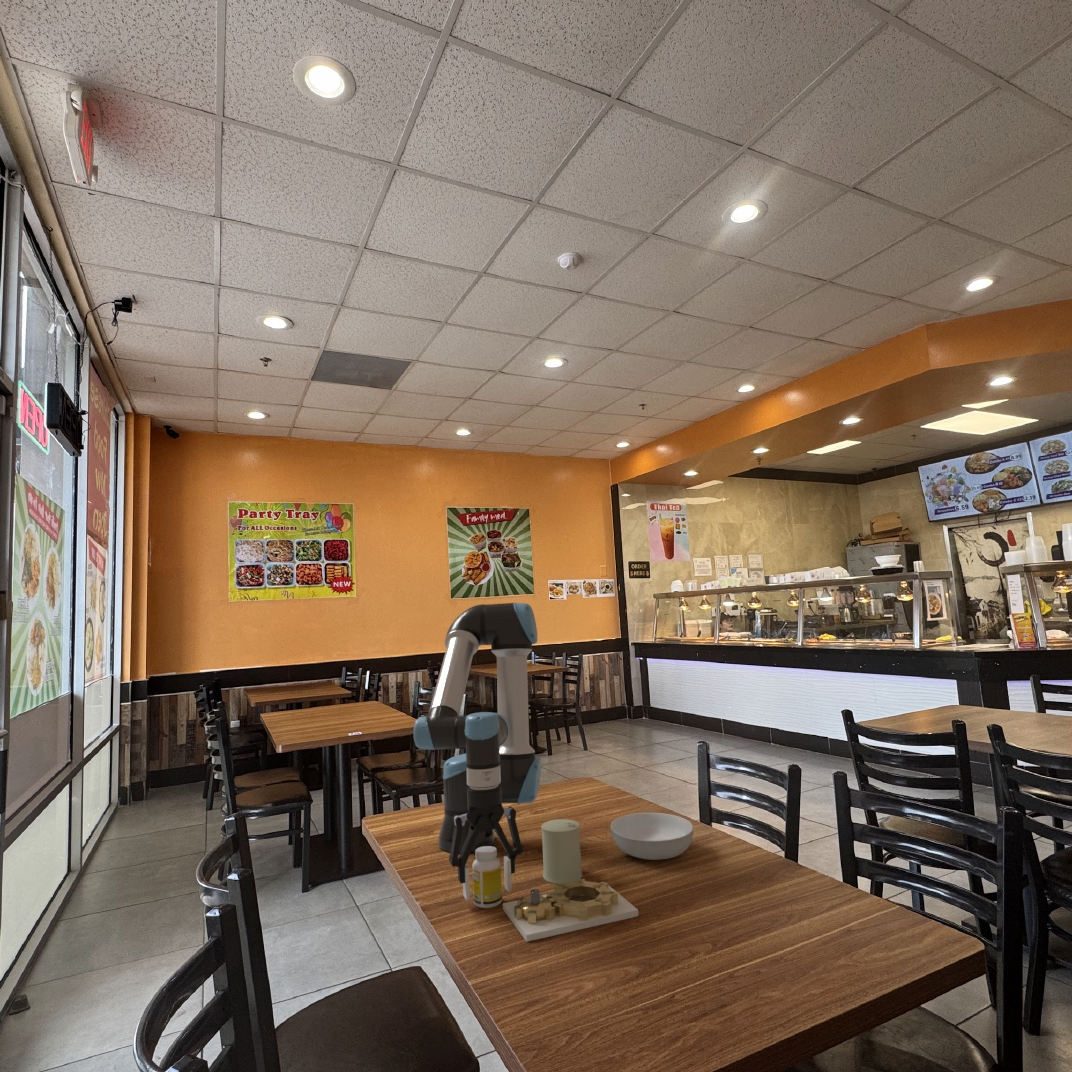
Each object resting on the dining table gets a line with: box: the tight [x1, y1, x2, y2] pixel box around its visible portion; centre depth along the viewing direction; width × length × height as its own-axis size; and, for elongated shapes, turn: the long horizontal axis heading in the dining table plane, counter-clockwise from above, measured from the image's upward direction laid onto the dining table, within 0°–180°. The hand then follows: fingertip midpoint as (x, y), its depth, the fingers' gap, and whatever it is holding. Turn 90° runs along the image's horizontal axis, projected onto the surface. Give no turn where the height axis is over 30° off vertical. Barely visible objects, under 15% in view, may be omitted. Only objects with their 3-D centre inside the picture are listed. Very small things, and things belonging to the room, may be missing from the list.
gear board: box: [502, 884, 639, 942], centre depth 137 cm, size 15×24×1 cm, turn 110°
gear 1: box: [514, 888, 557, 924], centre depth 135 cm, size 8×9×4 cm
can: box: [541, 818, 583, 885], centre depth 156 cm, size 9×9×12 cm
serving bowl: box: [609, 812, 694, 861], centre depth 168 cm, size 21×21×7 cm
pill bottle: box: [471, 845, 503, 909], centre depth 144 cm, size 6×6×11 cm
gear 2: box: [545, 878, 619, 921], centre depth 138 cm, size 14×14×2 cm
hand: (487, 893), depth 143 cm, fingers open, 9 cm apart
